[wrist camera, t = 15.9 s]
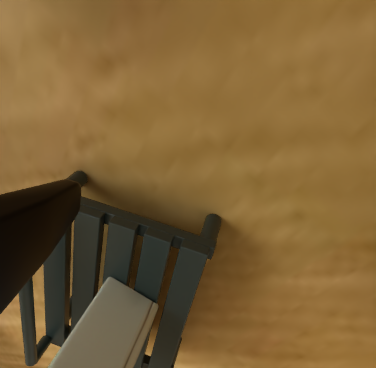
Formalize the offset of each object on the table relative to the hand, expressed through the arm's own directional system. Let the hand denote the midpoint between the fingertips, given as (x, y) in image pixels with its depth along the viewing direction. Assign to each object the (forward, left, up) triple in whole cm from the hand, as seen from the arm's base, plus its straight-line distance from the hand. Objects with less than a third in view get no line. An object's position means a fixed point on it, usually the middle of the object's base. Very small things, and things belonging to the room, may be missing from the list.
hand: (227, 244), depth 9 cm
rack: (+6, +16, -13) cm, 21 cm away
